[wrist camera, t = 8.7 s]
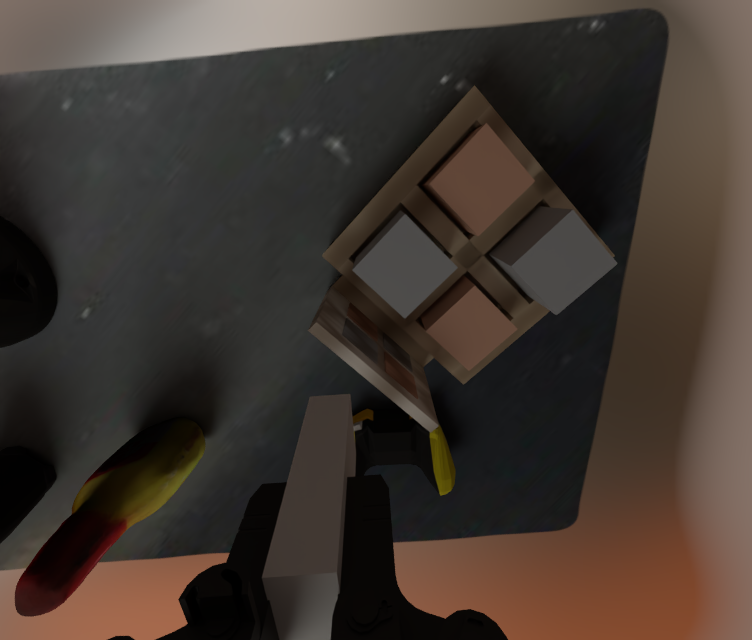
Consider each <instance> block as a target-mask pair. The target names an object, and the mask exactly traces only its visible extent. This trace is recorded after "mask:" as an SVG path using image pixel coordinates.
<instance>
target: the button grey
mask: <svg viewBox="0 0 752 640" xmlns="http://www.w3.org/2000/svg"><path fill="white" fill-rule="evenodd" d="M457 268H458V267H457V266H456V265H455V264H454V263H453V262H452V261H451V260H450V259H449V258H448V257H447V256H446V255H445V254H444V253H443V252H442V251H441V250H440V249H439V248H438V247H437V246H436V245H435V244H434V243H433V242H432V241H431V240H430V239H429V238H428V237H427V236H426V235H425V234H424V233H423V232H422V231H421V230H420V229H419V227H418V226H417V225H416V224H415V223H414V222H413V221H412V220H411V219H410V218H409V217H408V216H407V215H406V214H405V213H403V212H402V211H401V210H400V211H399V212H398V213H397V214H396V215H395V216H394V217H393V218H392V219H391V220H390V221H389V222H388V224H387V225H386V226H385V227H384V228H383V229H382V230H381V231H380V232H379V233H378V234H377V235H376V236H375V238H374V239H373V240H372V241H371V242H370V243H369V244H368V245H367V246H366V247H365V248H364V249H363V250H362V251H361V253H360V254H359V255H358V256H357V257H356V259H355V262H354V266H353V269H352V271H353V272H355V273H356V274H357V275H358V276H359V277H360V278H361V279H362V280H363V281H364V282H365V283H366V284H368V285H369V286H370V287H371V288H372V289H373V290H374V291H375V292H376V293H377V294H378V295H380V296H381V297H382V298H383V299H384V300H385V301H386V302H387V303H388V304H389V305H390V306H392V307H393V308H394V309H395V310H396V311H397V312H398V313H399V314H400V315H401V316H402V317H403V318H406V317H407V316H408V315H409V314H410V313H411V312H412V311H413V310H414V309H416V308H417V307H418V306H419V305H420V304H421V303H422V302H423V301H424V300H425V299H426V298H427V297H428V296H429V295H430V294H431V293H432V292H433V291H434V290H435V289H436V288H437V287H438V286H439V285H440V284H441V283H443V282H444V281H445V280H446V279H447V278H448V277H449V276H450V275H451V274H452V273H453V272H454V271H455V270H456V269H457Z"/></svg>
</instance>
